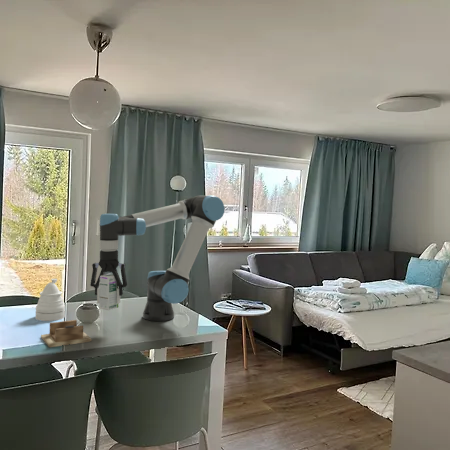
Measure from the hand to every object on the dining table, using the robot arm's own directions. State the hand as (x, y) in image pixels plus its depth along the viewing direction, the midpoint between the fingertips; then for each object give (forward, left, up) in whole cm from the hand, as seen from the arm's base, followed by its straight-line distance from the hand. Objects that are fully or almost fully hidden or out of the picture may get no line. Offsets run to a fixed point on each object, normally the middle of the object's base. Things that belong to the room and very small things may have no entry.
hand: (108, 302), depth 186 cm
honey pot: (+33, -19, -13) cm, 40 cm away
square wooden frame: (+14, +12, -13) cm, 22 cm away
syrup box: (0, 0, -2) cm, 2 cm away
